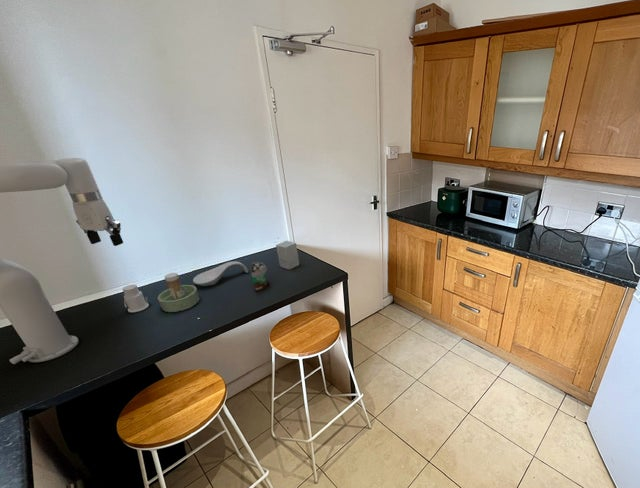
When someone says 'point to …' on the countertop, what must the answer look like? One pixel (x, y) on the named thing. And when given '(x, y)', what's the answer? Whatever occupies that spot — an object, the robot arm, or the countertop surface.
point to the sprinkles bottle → (174, 286)
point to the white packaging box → (287, 254)
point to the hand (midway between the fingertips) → (107, 243)
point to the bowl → (180, 304)
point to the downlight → (134, 299)
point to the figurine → (259, 275)
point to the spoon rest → (215, 274)
